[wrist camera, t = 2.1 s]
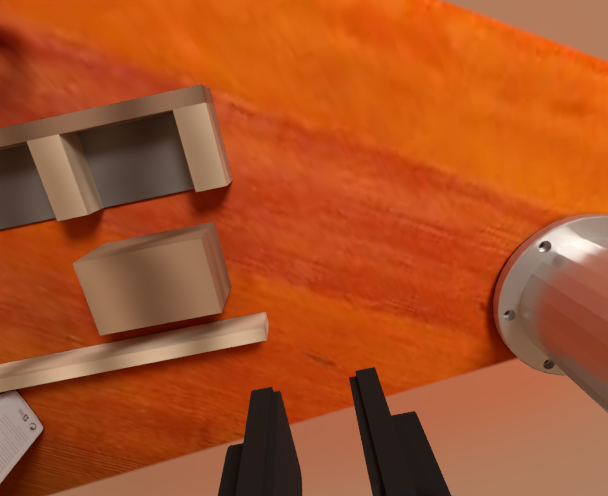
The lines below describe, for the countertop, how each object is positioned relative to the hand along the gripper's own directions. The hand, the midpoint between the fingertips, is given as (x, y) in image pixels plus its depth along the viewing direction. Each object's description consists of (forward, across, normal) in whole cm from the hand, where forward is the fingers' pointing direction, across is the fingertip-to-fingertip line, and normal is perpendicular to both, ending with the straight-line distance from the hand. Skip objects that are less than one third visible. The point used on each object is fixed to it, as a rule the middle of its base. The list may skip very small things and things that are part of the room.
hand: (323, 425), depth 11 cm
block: (+19, +10, 0) cm, 22 cm away
